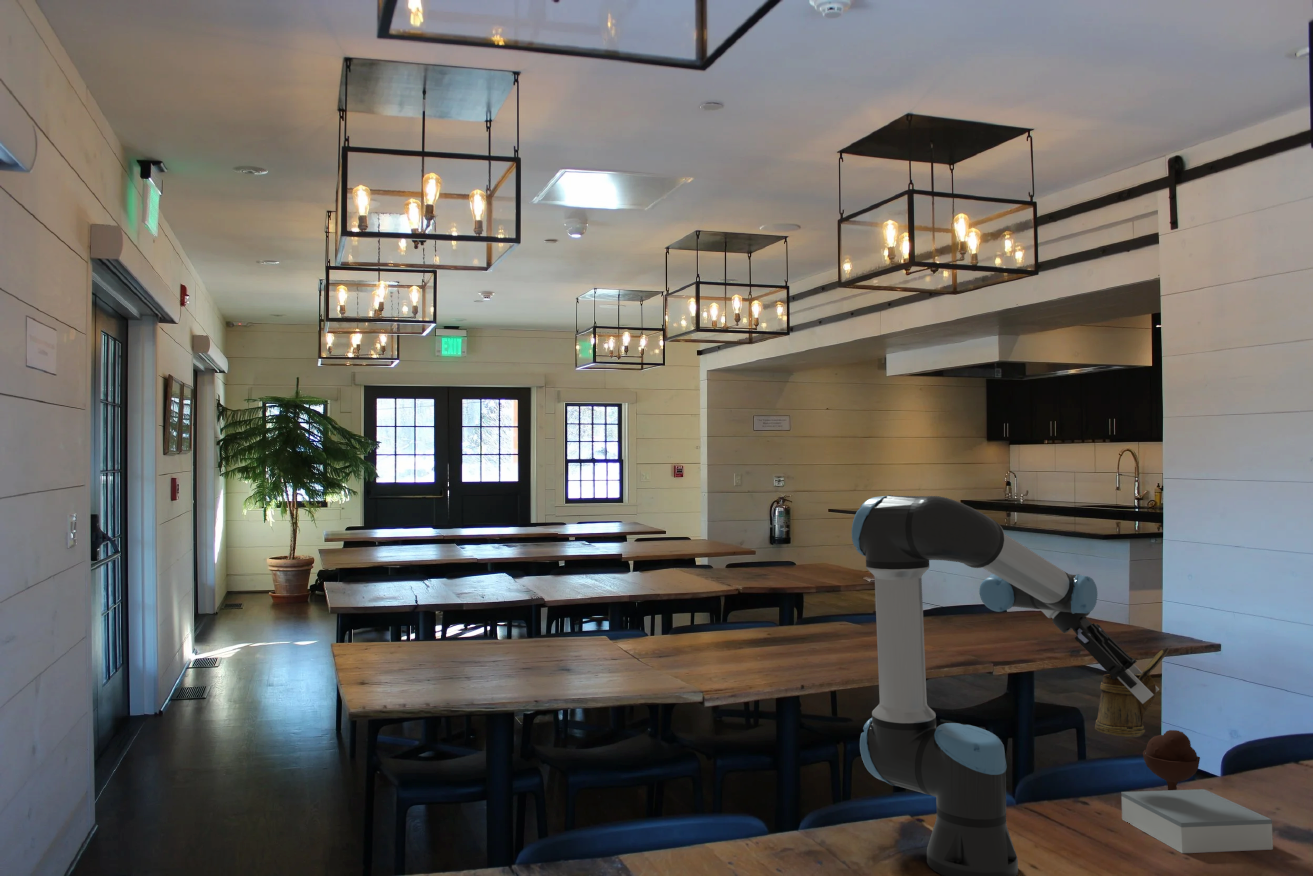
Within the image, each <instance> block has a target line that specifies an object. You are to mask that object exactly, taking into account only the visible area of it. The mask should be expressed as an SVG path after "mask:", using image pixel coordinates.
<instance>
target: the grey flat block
mask: <svg viewBox="0 0 1313 876" xmlns="http://www.w3.org/2000/svg"><path fill="white" fill-rule="evenodd" d="M1120 793H1121V819H1122V821H1124V822H1126V823H1127V822H1128V823H1127V824H1129V823H1130V824H1129V825H1131V826H1133V827H1134V828H1137V829H1138V830H1140V831H1142V832H1144V833H1146V834H1147V835H1149V836H1150V837H1152V838H1155V840H1157V841H1159V842H1161V843H1163V844H1164V845H1167V846H1168V847H1170V848H1172V849H1173V850H1175V851H1177V852H1179V853H1180V854H1193V853H1194V854H1195V853H1196V854H1197V853H1200V854H1201V853H1221V852H1241V851H1244V852H1245V851H1266V850H1267V851H1268V850H1271V851H1272V850H1273V849H1274V846H1273V845H1274V844H1273V843H1274V842H1273V839H1274V838H1273V819H1271V818H1269V817H1268V816H1265V815H1263V814H1260V813H1258V812H1256V811H1254V810H1252V809H1250V808H1247V807H1245V806H1243V805H1241V804H1238V803H1236V802H1234V801H1232V800H1229V799H1227V798H1225V797H1222V796H1220V795H1219V794H1216V793H1214V792H1212V791H1209V790H1207V789H1205V788H1202V789H1201V788H1200V789H1177V790H1168V789H1167V790H1142V791H1141V790H1140V791H1139V790H1138V791H1121V792H1120Z"/></svg>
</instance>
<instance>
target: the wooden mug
mask: <svg viewBox="0 0 1313 876" xmlns="http://www.w3.org/2000/svg"><path fill="white" fill-rule="evenodd" d="M1169 651H1170V650H1169V648H1168V647H1165V648H1163V649H1161V650H1160V651H1159V652H1158V653H1157V654H1156V655H1155V656H1153V658H1152V659H1151V661H1149V663H1148V664H1147V665H1146V666H1145V668H1144V669H1143V671H1142V672H1143V673H1142V674H1134V675H1135V676H1136V677H1137V678H1138V679H1139V680H1140V681H1141V682H1142V683H1143V684H1144V685H1145V686H1146V687H1147V688H1148V689H1149V690H1150V691H1151V692H1152V693H1153V694H1154V695H1153V696H1152V697H1151V698H1149V699H1148V700H1147V701H1146V702H1144V703H1143V704H1142V703H1141V702H1140V701H1139V700H1138V699H1137V697H1136V696H1135V695H1134V694H1133V693H1132V692H1131V691H1130V690H1129V689H1128V688H1127V687H1126V686H1125V685H1124V684H1123V683H1122V682H1121V681H1120V680H1119V679H1118V678H1115V679H1114V680H1113V679H1112V678H1111V675H1110V674H1109V673H1107V674H1103V675H1102V681H1101V682H1100V686H1099V689H1100V699H1099V705H1098V713H1097V719H1096V720H1095V726H1094V730H1095V731H1098V732H1099V733H1102V734H1105V735H1110V736H1116V737H1125V738H1140V737H1143V735H1144V734H1145V732H1146V729H1145V726H1144V723H1143V722H1144V717H1145V714H1146V712H1147V710H1148V709H1149V707H1150V706H1151V705H1152V703H1153V701H1154V700H1155V697H1156V694H1157V692H1156V686H1157V685H1156V683H1155V680H1154V679H1153V677H1152V676H1151V673H1152V672H1153V670H1155V668H1156V667H1158V665H1159V664H1160V663H1161V662H1162V661H1163V659H1164V658H1165V657H1166V656H1167V653H1169ZM1155 685H1156V686H1155Z"/></svg>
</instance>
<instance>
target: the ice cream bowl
mask: <svg viewBox="0 0 1313 876" xmlns="http://www.w3.org/2000/svg"><path fill="white" fill-rule="evenodd" d="M1142 757H1143V760H1144V763H1145V765H1146V767H1147V768H1148V770H1150V771H1151V772H1152V773H1153V774H1154V775H1156V776H1157V777H1158V778H1160V779H1162V780H1165V782H1166V784H1167V790H1178V789H1177V788H1178V787H1177V785H1178V783H1179V782H1184V781H1186V780H1188V779H1190V778H1191V777H1192V776H1194V775H1196V773H1197V771H1198V769H1199V766H1200V760H1201V757H1200V756H1198V755H1197V751H1196V750H1195V749H1194V748H1193V747H1192V744H1191V739H1190V738H1189V737H1188V736H1187V734H1185V733H1184V732H1183V731H1180V730H1175V729H1169V730H1167V731H1165V733H1163V735H1162V734H1157V735H1154V736H1152V737H1151V738H1150V739H1149V740H1148V741H1147V745H1146V749H1144V750H1143V751H1142Z"/></svg>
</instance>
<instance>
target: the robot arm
mask: <svg viewBox="0 0 1313 876" xmlns="http://www.w3.org/2000/svg"><path fill="white" fill-rule="evenodd" d="M851 540H852V543H853V546H854V547H855V548H856V549H855V550H856V551H857V553H859V554H860V555H861V556H863V557H865V568H866V569H867V571H869V572H870V573H871V574H872V575H873V576H874V592H875V593H874V594H875V615H876V616H875V617H876V619H875V620H876V621H875V622H876V641H877V642H876V643H877V645H876V646H877V667H878V691H879V692H878V693H879V694H878V695H879V696H878V697H879V703H878V705H877V706H876V707H875V708H874V709H873V710H872V711H871V718H869V719H868V720H866V722H865V723H864V725H863V728H862V730H863V732H861V733H860V738H859V752H860V755H861V760H862V761H863V762H862V763H863V764H864V767H865V768H866V770H867V771H868V773H870V775H872V776H873V777H874V778H876V779H878V780H879V781H882V782H885V783H887V784H888V785H890V786H892V787H893V786H895V787H900V788H904V789H908V790H911V791H915V792H918V793H922V794H925V795H928V796H932V797H935V798H936V799H935V800H936V801H935V802H936V819H935V823H934V824H933V827H932V830H931V831H932V832H931V834H930V837H929V841H928V844H927V848H926V863H927V865H928V866H929V868H930V870H933V871H934V872H936V873H938V874H939V875H941V876H1018V874H1019V859H1018V855H1017V853H1016V849H1015V847H1014V843H1013V841H1012V838H1011V835H1010V832H1009V829H1008V826H1007V776H1006V775H1007V773H1006V771H1007V767H1008V765H1007V761H1006V753H1005V745H1004V744H1003V742H1002V740H1001V739H1000V738H999V736H997V735H996V734H994V733H993V732H991V731H989V730H986V729H984V728H981V727H979V726H975V725H971V724H961V723H956V722H948V723H947V722H946V723H941V724H940V725H938V726H937V718H936V716H937V715H936V712H935V711H934V710H933V709H932V708H931V707H930V706H929V705H928V703H927V702H928V701H927V699H928V698H927V680H926V678H927V677H926V676H927V675H926V655H925V654H926V651H925V650H926V649H925V629H924V627H925V626H924V604H923V582H922V581H923V580H922V579H923V575H925V573H926V572H928V570H929V569H930V561H947V562H955V563H960V564H964V565H965V566H967V567H969V568H973V569H984V570H986V571H987V572H989V573H991V574H990V575H989V576H987V577H986V578H985V579H983V581H982V582H981V583H980V585H979V588H978V589H979V591H978V592H979V598H980V600H981V601H982V604H984V606H985V607H986V608H988V609H989V610H991V611H994V612H999V613H1001V612H1005V611H1007V610H1010V609H1012V608H1015V607H1016V608H1021V609H1022V608H1023V609H1030V610H1031V609H1032V610H1040V611H1041V612H1042V613H1043V615H1045V616H1046V617H1047V618H1048V619H1051V618H1052V620H1051V621H1052V623H1053V625H1054V626H1056V627H1057V628H1058V630H1059V631H1061V633H1063V634H1067V633H1068V632H1070V631H1071V630H1072V631H1073V633H1075V635H1076V636H1075V637H1074V640H1075V641H1076V642H1077V643H1079V644H1080V645H1081V647H1083V648H1084V650H1086V652H1088V653H1089V654H1090V656H1092V658H1094V659H1095V661H1096V662H1097V663H1098V664H1099V665H1100V666H1101V667H1102V668H1103V669H1104V670H1105V671H1106V672H1107V674H1110V675H1111V678H1112V679H1113V680H1114V679H1115V678H1118V679H1119V680H1120V681H1121V682H1122V683H1123V684H1124V685H1125V686H1126V687H1127V688H1128V689H1129V690H1130V691H1131V692H1132V693H1133V694H1134V695H1135V696H1136V697H1137V699H1138V700H1139V701H1140V702H1141V703H1142V704H1143V703H1144V702H1146V701H1147V700H1148V699H1149V698H1151V697H1152V696H1153V695H1154V694H1153V693H1152V692H1151V691H1150V690H1149V689H1148V688H1147V687H1146V686H1145V685H1144V684H1143V683H1142V682H1141V681H1140V680H1139V679H1138V678H1137V677H1136V676H1135V675H1134V674H1142V673H1143V671H1142V670H1141V669H1140V668H1139V667H1138V666H1137V665H1136V663H1137V659H1135V658H1133V657H1132V656H1130V655H1129V653H1127V652H1126V651H1125V650H1124V649H1123V648H1122V647H1121V646H1120V645H1119V643H1117V642H1116V641H1115V640H1114V639H1113V638H1112V637H1111V636H1110V635H1109V634H1108V633H1107V632H1106V631H1105V630H1104V629H1103V628H1102V627H1101V625H1100V624H1099V623H1095V622H1093V623H1092V622H1091V621H1089V619H1087V617H1088V616H1089V615H1090V614H1091V613H1092V611H1093V610H1094V609H1095V607H1096V605H1097V601H1098V588H1097V584H1096V582H1095V581H1094V579H1093V578H1092V577H1091V576H1088V575H1081V574H1078V573H1076V574H1072V573H1071V574H1070V573H1068V572H1066V571H1064V570H1063V569H1061V568H1060V567H1058V566H1056V565H1055V564H1054V563H1052V562H1050V561H1048V560H1047V559H1045V558H1044V557H1042V556H1041V555H1039V554H1038V553H1036V552H1034V551H1032V550H1031V549H1030V548H1029V547H1027V546H1025V545H1023V544H1022V543H1020V542H1018V541H1017V540H1015V539H1013V538H1012V537H1011V536H1009V535H1007V534H1005V532H1004V528H1003V527H1002V526H1001V525H1000V524H999V523H998V522H997V521H996V520H994V519H993V518H991V517H990V516H988V515H986V514H984V513H983V512H981V511H979V510H977V509H975V508H973V507H971V506H969V505H967V504H964V503H962V502H960V501H957V500H955V499H952V498H948V497H945V496H938V495H927V496H925V495H923V496H922V495H917V496H916V495H891V494H888V495H883V496H880V495H879V496H873V497H870V498H869V499H867V500H865V501H864V502H863V503H862V504H861V505H860V506H859V509H858V510H857V511H856V513H855V515H854V517H853V521H852V525H851ZM1155 686H1156V693H1157V692H1158V691H1159V690H1160V688H1159V687H1158V686H1157V685H1156V684H1155Z"/></svg>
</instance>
